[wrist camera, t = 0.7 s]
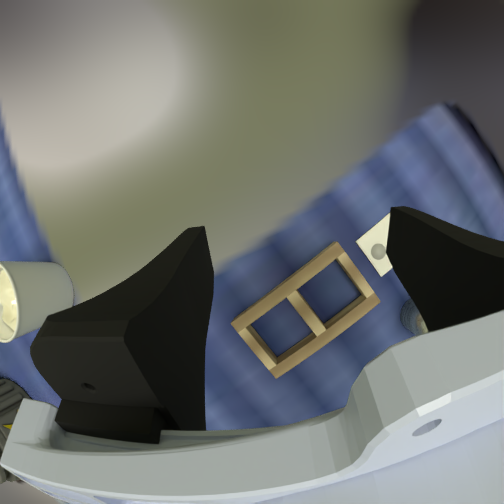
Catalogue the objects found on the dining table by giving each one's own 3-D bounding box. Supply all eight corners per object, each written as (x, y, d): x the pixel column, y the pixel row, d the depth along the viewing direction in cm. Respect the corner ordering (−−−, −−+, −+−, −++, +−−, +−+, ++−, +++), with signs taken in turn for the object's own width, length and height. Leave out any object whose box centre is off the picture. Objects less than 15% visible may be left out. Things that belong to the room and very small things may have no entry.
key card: (417, 244, 32) (419, 244, 32) (380, 276, 33) (381, 277, 32) (393, 209, 32) (394, 209, 32) (355, 241, 33) (356, 241, 32)
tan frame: (374, 297, 33) (380, 301, 30) (276, 370, 34) (276, 378, 32) (333, 241, 33) (337, 241, 31) (234, 317, 35) (230, 323, 32)
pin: (434, 315, 32) (466, 331, 24) (410, 336, 32) (438, 358, 24) (419, 290, 32) (451, 301, 24) (394, 311, 33) (421, 329, 25)
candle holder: (47, 330, 38) (-8, 349, 26) (27, 271, 38) (-30, 276, 26) (88, 312, 37) (28, 332, 25) (65, 246, 37) (3, 247, 25)
